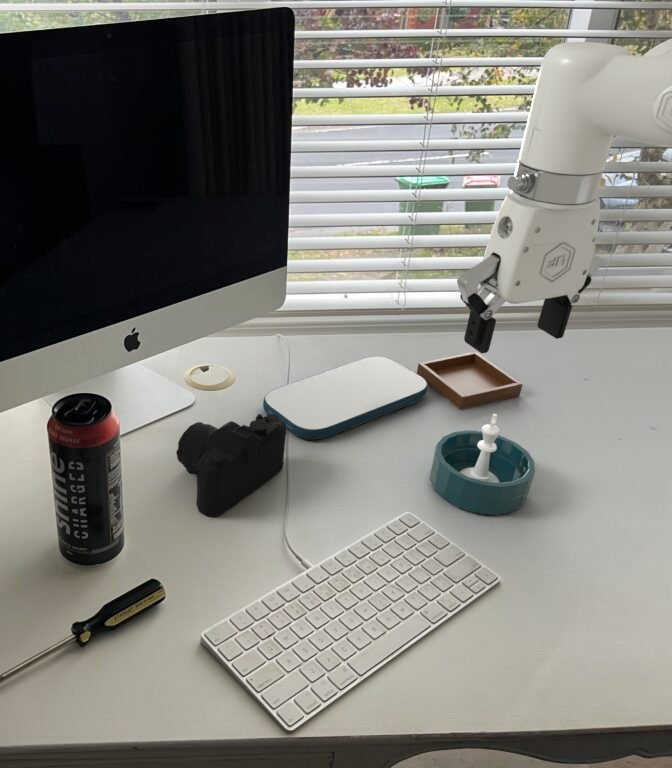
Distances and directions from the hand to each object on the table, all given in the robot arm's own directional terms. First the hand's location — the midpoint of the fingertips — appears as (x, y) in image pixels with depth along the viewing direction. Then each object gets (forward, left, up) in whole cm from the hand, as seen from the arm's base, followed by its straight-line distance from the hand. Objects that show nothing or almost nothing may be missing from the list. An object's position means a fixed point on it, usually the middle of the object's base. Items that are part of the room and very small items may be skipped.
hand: (513, 339), depth 85 cm
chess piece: (0, 0, -20) cm, 20 cm away
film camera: (+28, -12, -20) cm, 37 cm away
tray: (-14, -20, -20) cm, 32 cm away
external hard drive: (+5, -22, -20) cm, 30 cm away
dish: (0, 0, -20) cm, 20 cm away
